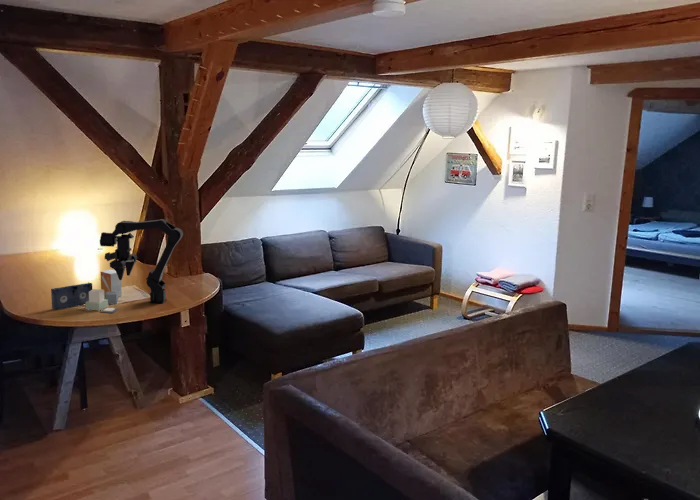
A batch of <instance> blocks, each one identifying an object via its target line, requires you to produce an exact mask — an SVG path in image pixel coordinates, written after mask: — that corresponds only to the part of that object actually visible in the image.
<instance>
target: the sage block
mask: <svg viewBox="0 0 700 500" xmlns="http://www.w3.org/2000/svg"><path fill="white" fill-rule="evenodd" d="M106 307H107V308H109V304H108V300H107V299H106V298H104V300H103V301H102V302H100V303H96V302H89V301H87V302H85V310H86V309H91V310H90V311H92V310H98V311H97V312H100V310H101V311H102V309H104V308H106Z"/></svg>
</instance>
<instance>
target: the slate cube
mask: <svg viewBox="0 0 700 500" xmlns="http://www.w3.org/2000/svg"><path fill="white" fill-rule="evenodd" d="M105 296H106V297H105V299H107V300H108V305H117V304H118V303H117V302H119V297H118V291H117V292H107V293H106V294H105Z"/></svg>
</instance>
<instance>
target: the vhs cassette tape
mask: <svg viewBox="0 0 700 500" xmlns="http://www.w3.org/2000/svg"><path fill="white" fill-rule="evenodd" d="M93 289H94V288H93V283H92V282H87V283H81V284H73V285H67V286H62V287H54V288H51V289H50V294H51V296H50V298H51V309H52V310H54V311H58V310H64V309H68V308H69V309H70V308H74V306H75V307H79V306H78V305H80V306H83V305H82V304H85V302H87V301H89V291H91V290H93ZM85 305H86V304H85Z"/></svg>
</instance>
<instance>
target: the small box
mask: <svg viewBox="0 0 700 500" xmlns="http://www.w3.org/2000/svg"><path fill="white" fill-rule="evenodd" d="M100 289H101V290H104V298H106V296H105V294H106V293H107V292H117V291H118V298H120V297H122V296H123V295H122V293H123V292H122V280H119V278H118V275H117V273H116V271H115V270H114V269H106V270H101V271H100Z"/></svg>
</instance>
